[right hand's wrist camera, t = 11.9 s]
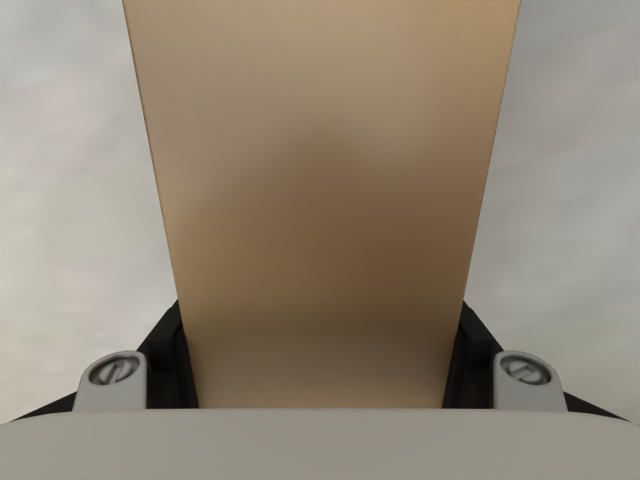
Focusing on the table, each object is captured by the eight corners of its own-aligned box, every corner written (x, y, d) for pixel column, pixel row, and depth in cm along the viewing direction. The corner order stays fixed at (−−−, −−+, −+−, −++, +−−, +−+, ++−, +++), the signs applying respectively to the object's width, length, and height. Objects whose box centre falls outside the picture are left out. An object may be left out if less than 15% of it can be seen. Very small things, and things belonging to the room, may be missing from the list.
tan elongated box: (233, -181, 13) (-128, -1306, 2) (408, -180, 13) (776, -1298, 2) (265, 283, 20) (210, 477, 10) (374, 283, 21) (429, 478, 10)
